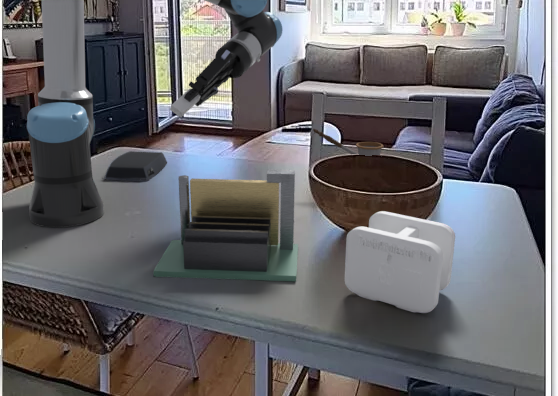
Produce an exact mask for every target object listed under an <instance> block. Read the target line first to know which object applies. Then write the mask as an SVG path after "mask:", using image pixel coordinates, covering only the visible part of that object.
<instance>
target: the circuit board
mask: <svg viewBox="0 0 558 396" xmlns="http://www.w3.org/2000/svg"><path fill="white" fill-rule="evenodd" d="M298 255H299V243H293V250H280V242H278V246H276V245H271V251H270V256H269V262H268V268H267V272H253V271H223V270H194V269H184V250H183V245H182V244H181V239H172V240H171V241H170V243H169V245H168V246H167V248H166V249H165V251H164V253H163V254H162V256H161V257H160V259H159V261H158V263H157V264H156V266H155V268H154V270H153V277H157V278H159V277H160V278H162V277H163V278H184V279H185V278H186V279H187V278H188V279H189V278H190V279H214V280H215V279H217V280H218V279H219V280H244V281H245V280H247V281H248V280H249V281H269V282H270V281H272V282H273V281H274V282H297V277H298V276H297V273H298V258H299V257H298Z"/></svg>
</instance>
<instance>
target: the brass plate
mask: <svg viewBox="0 0 558 396" xmlns="http://www.w3.org/2000/svg"><path fill="white" fill-rule="evenodd" d="M189 198H190V222H192V216H225V217H259V218H271V245H276V246H278V243H279V242H280V227H279V226H280V224H279V223H280V215H279V214H280V183H272V182H267V179H266V180H259V179H257V180H256V179H226V178H225V179H224V178H222V179H221V178H190V180H189Z"/></svg>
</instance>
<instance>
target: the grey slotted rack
mask: <svg viewBox="0 0 558 396" xmlns="http://www.w3.org/2000/svg"><path fill="white" fill-rule="evenodd" d="M295 171H296V170H290V169H275V168H273V169H271V168H268V169H267V172H266V181H267V182H272V183H279V184H280V206H279V214H280V215H279V223H280V224H279V226H280V227H279V243H280V250H293V244H294V239H295V238H294V236H295V235H294V234H295V233H294V231H295V230H294V229H295V227H294V226H295V189H296V188H295V187H296V186H295V185H296V172H295ZM178 196H179V197H178V199H179V220H180V222H179V223H180V240H181V244H182V245H183V250H184V269H194V270H223V271H253V272H267V268H268V262H269V256H270V251H271V218H259V217H225V216H192V222H191V201H190V180H189V175H178Z"/></svg>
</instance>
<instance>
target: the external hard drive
mask: <svg viewBox="0 0 558 396" xmlns="http://www.w3.org/2000/svg"><path fill="white" fill-rule="evenodd" d="M167 164H168V161H167V158H166V156H165V154H164V153H163V152H156V151H155V152H154V151H153V152H151V151H127V152H124V153H121V154H120V155H119V156H117V157H115V158H114V159H113V160H112V161H111V162H110V163H109V165H108V166H107V170H106V171H105V175H104V177H103V179H104V180H105V179H107V180H108V181H131V180H132V181H134V182H136V181H137V182H148V181H150V180H152V179H153V178H155V177H156V176H157V175H158V174H160V172H162V171H163V169H165V167H166V166H167ZM107 180H106V181H107Z"/></svg>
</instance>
